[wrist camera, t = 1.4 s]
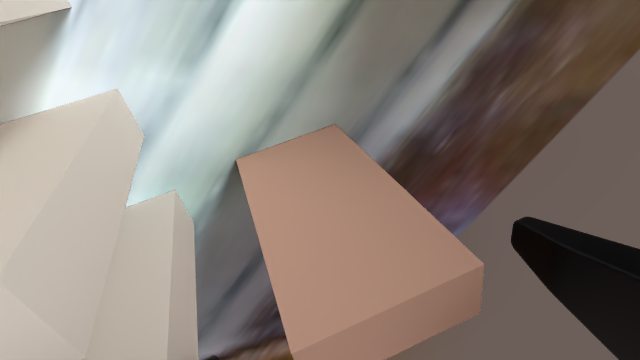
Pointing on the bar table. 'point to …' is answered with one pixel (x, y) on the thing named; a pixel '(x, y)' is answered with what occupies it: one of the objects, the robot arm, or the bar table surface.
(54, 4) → the tile
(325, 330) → the tile
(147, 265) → the tile
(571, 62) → the bar table surface
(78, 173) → the tile
